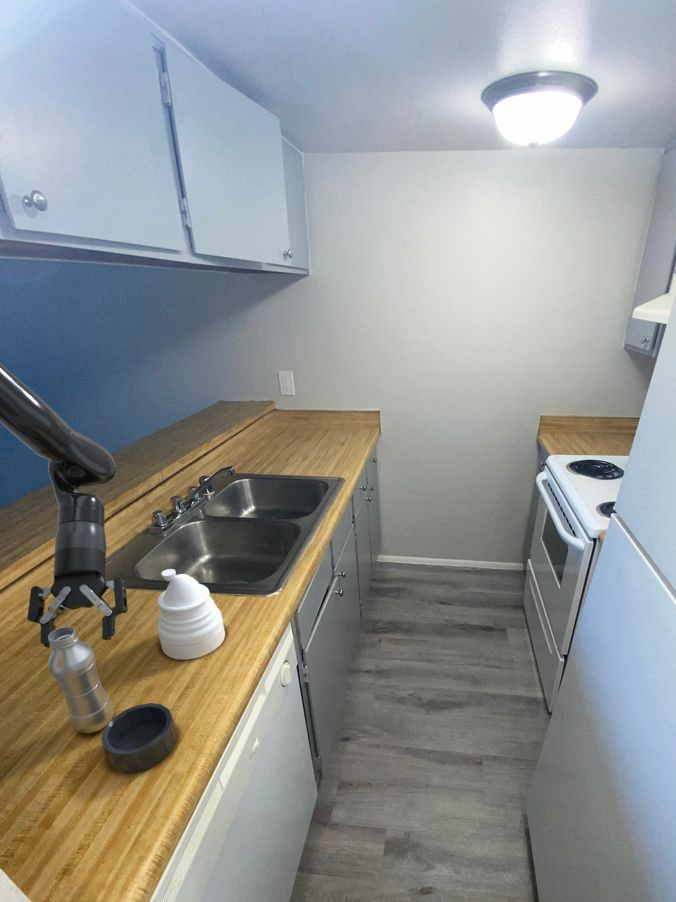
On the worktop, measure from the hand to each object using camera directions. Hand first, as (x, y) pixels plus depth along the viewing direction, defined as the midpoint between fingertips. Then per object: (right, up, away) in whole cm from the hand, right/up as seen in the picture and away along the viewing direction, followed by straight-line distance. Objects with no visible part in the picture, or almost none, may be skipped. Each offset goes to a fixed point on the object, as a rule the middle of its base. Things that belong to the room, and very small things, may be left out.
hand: (78, 643), depth 79 cm
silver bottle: (0, -15, +4) cm, 16 cm away
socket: (+11, -17, 0) cm, 21 cm away
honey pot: (+9, -5, +24) cm, 26 cm away
